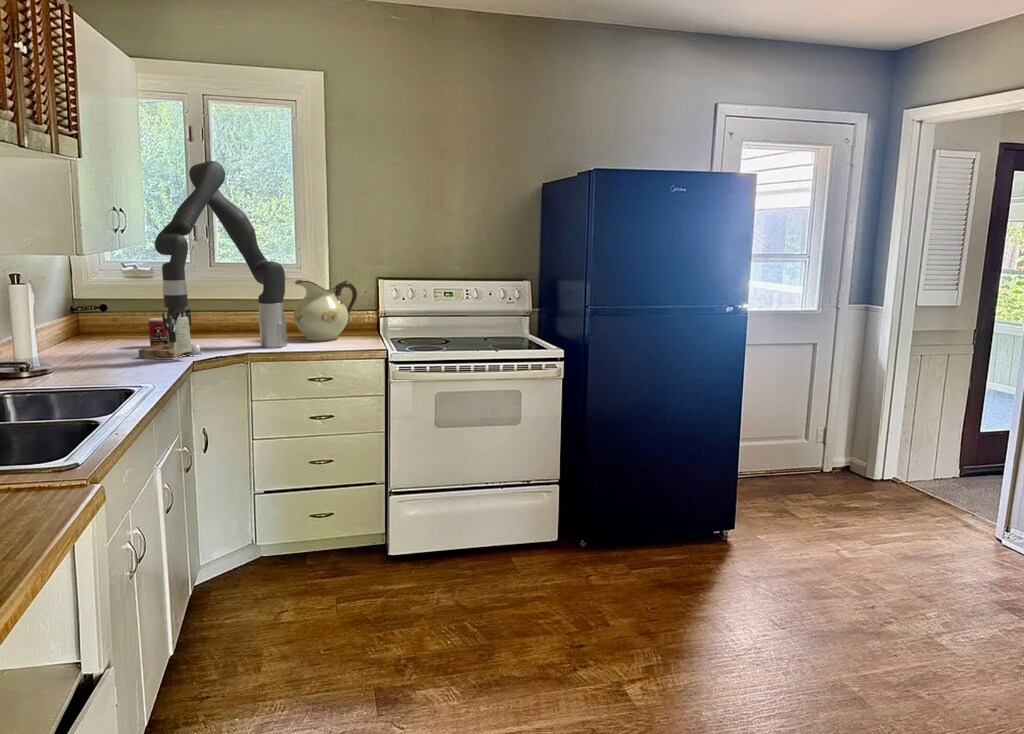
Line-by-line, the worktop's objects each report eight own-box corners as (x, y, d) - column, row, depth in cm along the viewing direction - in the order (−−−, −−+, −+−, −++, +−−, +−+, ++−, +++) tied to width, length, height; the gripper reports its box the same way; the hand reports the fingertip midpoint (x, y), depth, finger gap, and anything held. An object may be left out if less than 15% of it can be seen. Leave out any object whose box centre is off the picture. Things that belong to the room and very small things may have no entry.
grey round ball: (202, 354, 274) (201, 344, 274) (197, 356, 271) (196, 345, 270) (192, 354, 275) (192, 343, 274) (187, 356, 271) (186, 345, 270)
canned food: (148, 348, 288) (146, 320, 286) (152, 345, 296) (150, 317, 294) (170, 347, 290) (168, 319, 288) (173, 345, 298) (171, 317, 296)
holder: (195, 353, 277) (194, 345, 277) (174, 359, 264) (173, 350, 263) (161, 352, 279) (161, 344, 278) (139, 358, 265) (138, 350, 265)
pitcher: (283, 340, 312) (281, 280, 307) (315, 334, 334) (313, 277, 330) (330, 344, 305) (329, 282, 301) (359, 337, 327) (359, 279, 323)
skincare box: (185, 350, 264) (183, 316, 262) (192, 351, 262) (189, 316, 259) (168, 352, 259) (165, 317, 257) (174, 354, 257) (171, 318, 254)
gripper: (174, 295, 249) (177, 344, 252) (196, 291, 263) (200, 338, 266) (152, 295, 250) (157, 343, 253) (176, 291, 264) (180, 337, 267)
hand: (179, 340), depth 260 cm, fingers closed on skincare box, 7 cm apart
